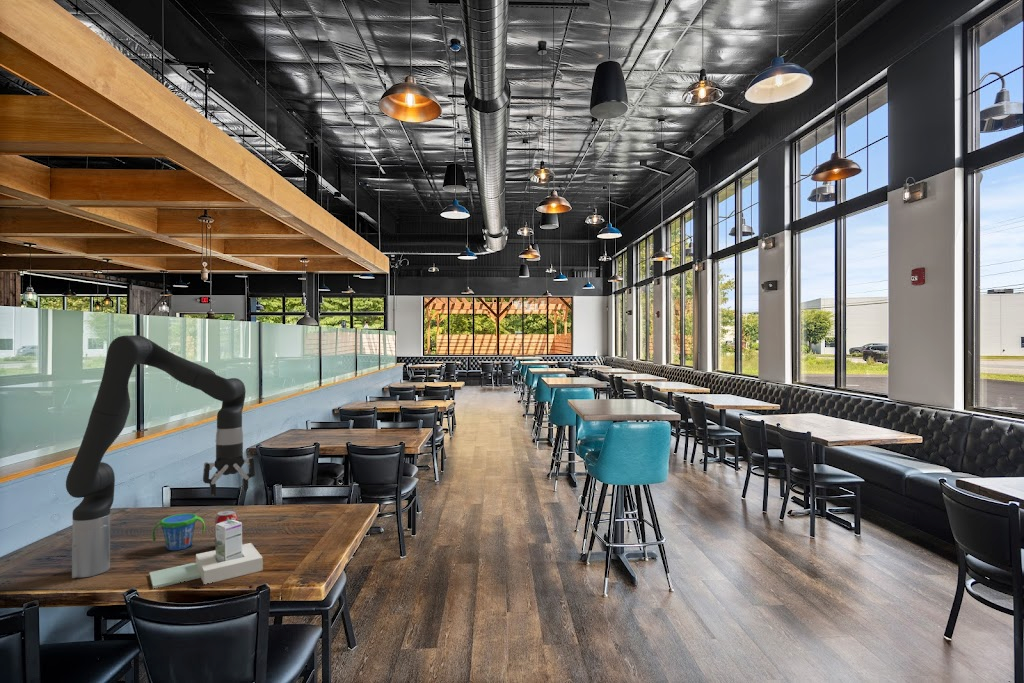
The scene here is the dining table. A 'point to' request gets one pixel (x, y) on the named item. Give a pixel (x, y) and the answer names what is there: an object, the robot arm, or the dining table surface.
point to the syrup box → (228, 540)
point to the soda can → (225, 518)
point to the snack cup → (178, 530)
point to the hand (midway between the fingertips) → (229, 493)
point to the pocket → (228, 565)
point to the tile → (174, 575)
